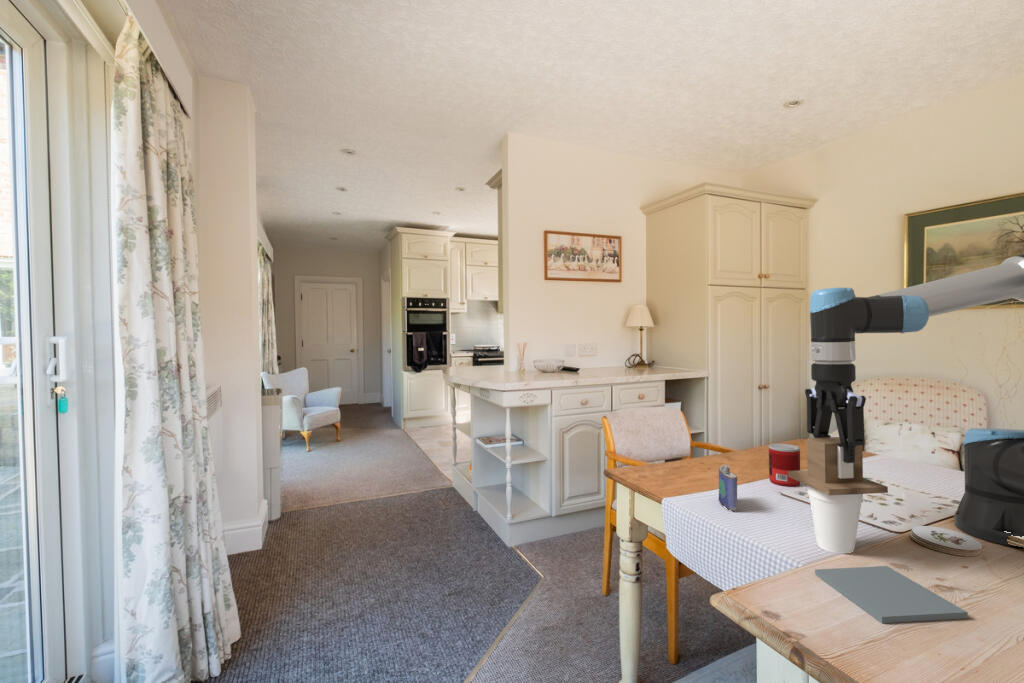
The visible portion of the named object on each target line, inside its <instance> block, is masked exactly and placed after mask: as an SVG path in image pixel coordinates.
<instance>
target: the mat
mask: <svg viewBox="0 0 1024 683" xmlns="http://www.w3.org/2000/svg"><path fill="white" fill-rule="evenodd" d="M814 573H815V574H816V575H817V576H816V575H815V574H814V575H815V576H816V577H818V576H819V577H820V578H821V580H822V579H823V580H824V581H825V582H824V581H823V580H822V581H823V582H824V583H826V584H827V585H829V586H830V587H832V589H834V590H836V591H837V592H838V593H840V594H841V595H842V596H843V597H845V598H846V599H848V600H849V601H850V602H852V603H853V604H855V605H856V606H858V608H860V609H861V610H863V612H865V613H868V615H870V616H871V617H873V619H875V620H877V621H878V622H879V623H881V624H893V623H896V624H897V623H909V622H910V623H913V622H915V623H916V622H928V621H929V622H930V621H944V620H945V621H947V620H964V619H965V620H966V619H968V616H969V615H968V611H966V610H965V609H963V608H961V607H959V606H958V605H956V604H954V603H953V602H951V601H949V600H947V599H946V598H943V597H942V596H940V595H939V594H937V593H935V592H933V591H931V590H930V589H928V588H927V587H925V586H923V585H921V584H919V583H917V582H916V581H914V580H912V579H910V578H908V577H907V576H906V575H904V574H902V573H900V572H899V571H896V570H895V569H893V568H892V567H890V566H888V565H883V566H882V565H880V566H879V565H878V566H877V565H876V566H861V567H859V566H858V567H855V566H854V567H838V568H820V569H819V568H817V569H814ZM819 577H818V578H819ZM820 578H819V579H820Z"/></svg>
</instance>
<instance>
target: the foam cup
mask: <svg viewBox="0 0 1024 683" xmlns="http://www.w3.org/2000/svg"><path fill="white" fill-rule="evenodd" d="M806 486H807V494H808V497H809V504H810V508H811V516H812V517H811V518H812V522H813V528H814V533H815V534H814V535H815V540H816V544H817V546H819V548H821V549H823V550H825V551H828V552H832V553H834V554H839V555H841V554H842V555H846V554H845V553H849V552H852V551H854V552H855V548H856V547H855V546H856V541H857V535H858V528H859V520H860V516H861V509H862V503H864V501H863V500H864V499H863V498H864V496H863V495H864V494H851V495H827V494H825V493H823V492H821V491H818V490H816V489H814V488H812V487H810V486H808V485H806Z"/></svg>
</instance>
